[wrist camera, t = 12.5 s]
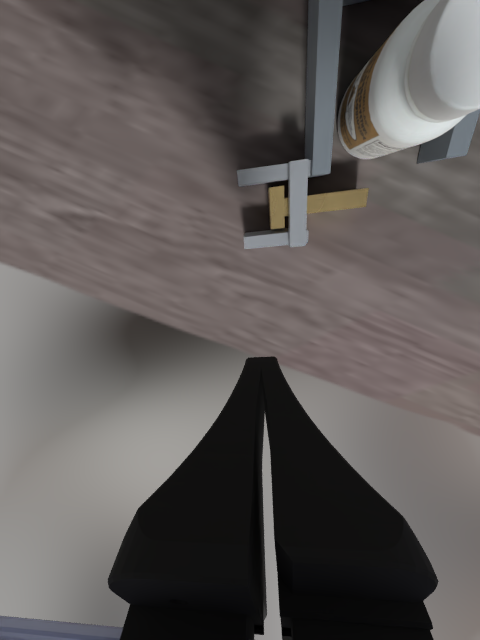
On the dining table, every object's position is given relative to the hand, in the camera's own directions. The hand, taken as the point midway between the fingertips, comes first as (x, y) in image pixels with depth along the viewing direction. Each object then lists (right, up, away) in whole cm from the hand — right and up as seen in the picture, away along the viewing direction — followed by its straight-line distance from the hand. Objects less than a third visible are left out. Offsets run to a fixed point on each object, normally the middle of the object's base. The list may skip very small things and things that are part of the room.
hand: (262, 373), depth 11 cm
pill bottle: (+7, +15, +3) cm, 17 cm away
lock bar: (+4, +11, +5) cm, 12 cm away
